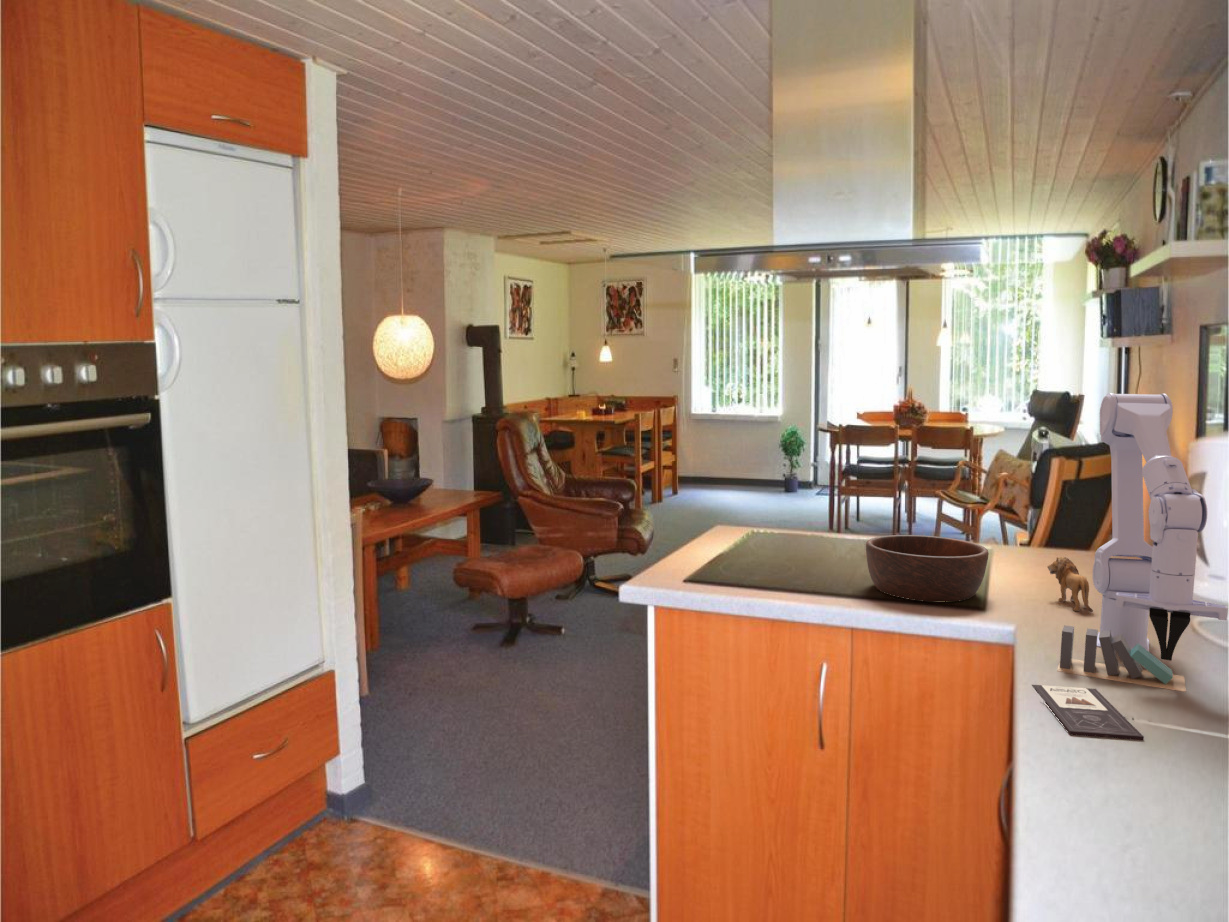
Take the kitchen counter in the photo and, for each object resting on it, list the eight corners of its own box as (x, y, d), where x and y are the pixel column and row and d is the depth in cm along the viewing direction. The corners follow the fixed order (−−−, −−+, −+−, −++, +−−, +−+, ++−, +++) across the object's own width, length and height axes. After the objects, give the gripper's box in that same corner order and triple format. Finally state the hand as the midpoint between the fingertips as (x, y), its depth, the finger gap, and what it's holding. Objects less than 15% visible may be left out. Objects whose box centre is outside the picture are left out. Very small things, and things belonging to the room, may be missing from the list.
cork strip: (1060, 659, 152) (1061, 657, 152) (1183, 678, 143) (1183, 676, 143) (1056, 673, 145) (1056, 670, 145) (1185, 694, 137) (1185, 691, 137)
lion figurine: (1042, 595, 195) (1045, 554, 194) (1067, 596, 195) (1069, 554, 194) (1079, 614, 181) (1082, 569, 180) (1106, 614, 181) (1109, 569, 180)
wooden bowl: (852, 597, 192) (854, 549, 191) (877, 573, 214) (879, 530, 213) (979, 613, 181) (981, 562, 180) (991, 587, 203) (994, 541, 202)
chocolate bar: (1070, 731, 121) (1032, 684, 138) (1069, 738, 121) (1031, 690, 139) (1143, 736, 119) (1095, 688, 137) (1143, 743, 119) (1095, 694, 137)
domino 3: (1107, 675, 143) (1098, 637, 144) (1108, 668, 147) (1099, 631, 147) (1118, 674, 143) (1109, 636, 143) (1119, 667, 146) (1110, 630, 146)
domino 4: (1132, 679, 142) (1111, 643, 143) (1132, 671, 145) (1112, 637, 146) (1142, 675, 141) (1120, 640, 142) (1142, 668, 144) (1121, 633, 145)
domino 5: (1165, 684, 140) (1130, 656, 142) (1164, 676, 143) (1131, 649, 145) (1172, 677, 139) (1137, 649, 141) (1172, 670, 142) (1137, 643, 144)
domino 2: (1083, 671, 145) (1085, 634, 144) (1084, 664, 149) (1087, 628, 148) (1094, 673, 144) (1096, 636, 144) (1095, 666, 148) (1097, 629, 147)
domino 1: (1059, 667, 147) (1062, 631, 146) (1061, 660, 150) (1063, 625, 150) (1070, 669, 146) (1072, 632, 145) (1071, 662, 149) (1074, 626, 149)
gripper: (1117, 570, 140) (1111, 657, 141) (1231, 583, 132) (1224, 674, 134) (1119, 562, 146) (1113, 645, 147) (1228, 573, 139) (1220, 660, 140)
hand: (1166, 658), depth 141 cm, fingers closed
